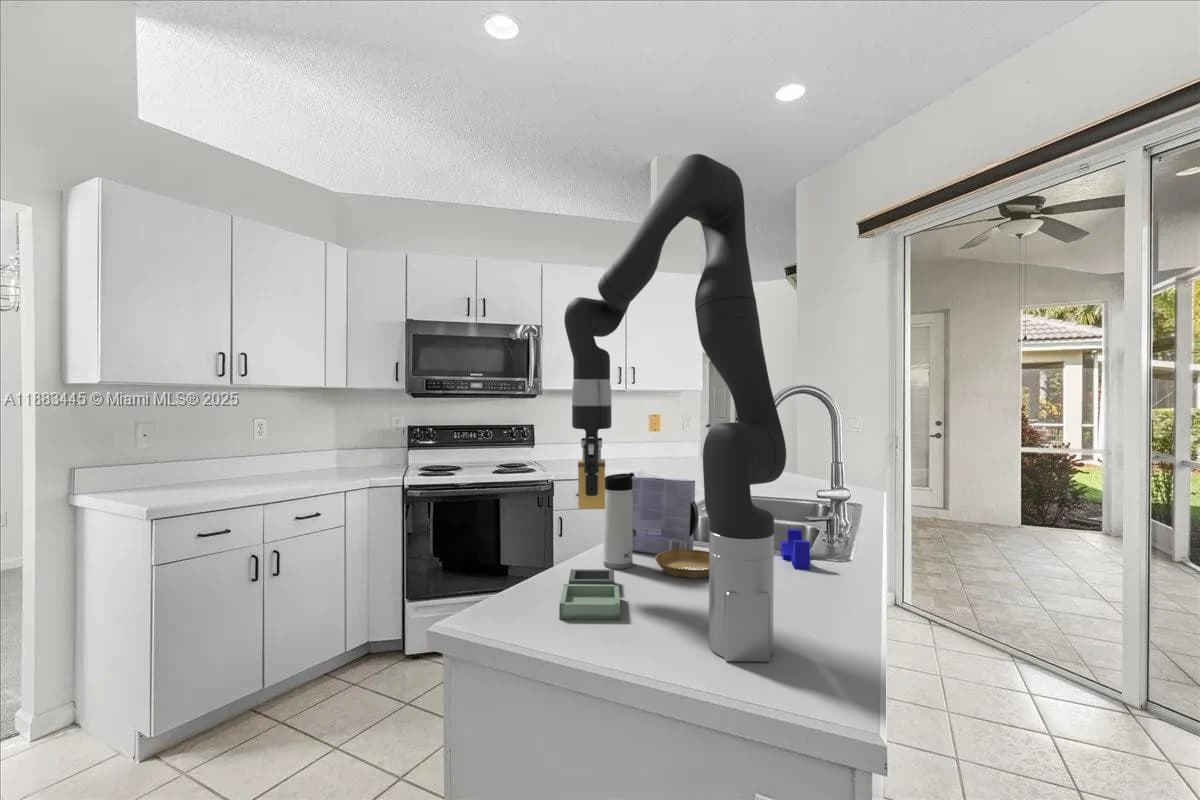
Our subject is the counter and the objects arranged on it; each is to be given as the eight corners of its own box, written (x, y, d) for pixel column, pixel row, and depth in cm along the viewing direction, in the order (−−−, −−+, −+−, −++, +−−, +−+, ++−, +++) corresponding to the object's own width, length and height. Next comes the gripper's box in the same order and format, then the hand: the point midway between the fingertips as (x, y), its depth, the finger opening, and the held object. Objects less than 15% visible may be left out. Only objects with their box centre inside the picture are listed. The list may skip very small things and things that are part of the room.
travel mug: (634, 569, 124) (635, 475, 124) (603, 569, 124) (603, 475, 124) (633, 561, 130) (633, 471, 130) (603, 560, 131) (604, 471, 130)
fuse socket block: (614, 594, 109) (614, 581, 109) (568, 594, 109) (568, 580, 109) (613, 582, 116) (613, 569, 116) (570, 581, 116) (570, 569, 116)
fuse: (605, 509, 110) (605, 461, 110) (578, 509, 110) (577, 461, 110) (605, 505, 114) (605, 459, 114) (578, 505, 114) (578, 459, 114)
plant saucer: (732, 582, 117) (732, 569, 117) (658, 582, 117) (658, 569, 117) (717, 561, 132) (717, 549, 132) (652, 560, 132) (652, 549, 132)
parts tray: (619, 619, 97) (619, 604, 97) (559, 619, 97) (559, 604, 97) (618, 598, 107) (618, 584, 107) (563, 597, 107) (563, 584, 107)
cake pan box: (698, 552, 137) (698, 477, 137) (694, 558, 133) (695, 480, 132) (620, 545, 144) (620, 473, 144) (614, 550, 139) (614, 476, 139)
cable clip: (780, 554, 137) (780, 528, 137) (800, 555, 136) (800, 529, 136) (787, 569, 125) (787, 541, 125) (809, 570, 124) (809, 542, 124)
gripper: (611, 404, 105) (612, 500, 105) (611, 403, 119) (611, 488, 119) (569, 404, 105) (570, 500, 105) (574, 403, 119) (574, 488, 119)
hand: (591, 493), depth 112 cm, fingers closed on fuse, 3 cm apart
